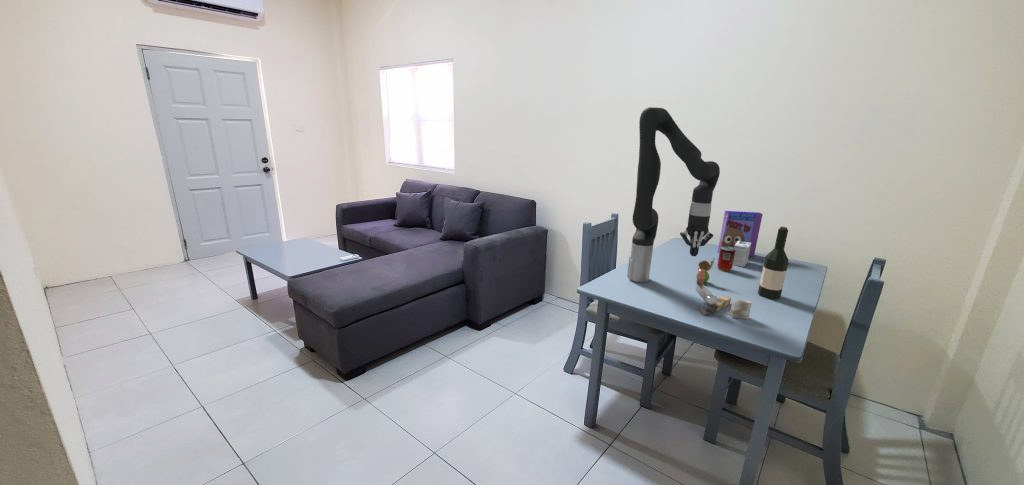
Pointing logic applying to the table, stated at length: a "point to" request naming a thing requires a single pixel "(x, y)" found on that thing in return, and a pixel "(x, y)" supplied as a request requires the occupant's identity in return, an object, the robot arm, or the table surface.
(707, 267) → the snail figurine
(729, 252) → the soda can
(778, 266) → the wine bottle
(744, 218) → the cereal box
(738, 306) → the base
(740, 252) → the light bulb box
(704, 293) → the bar
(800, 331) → the table surface
